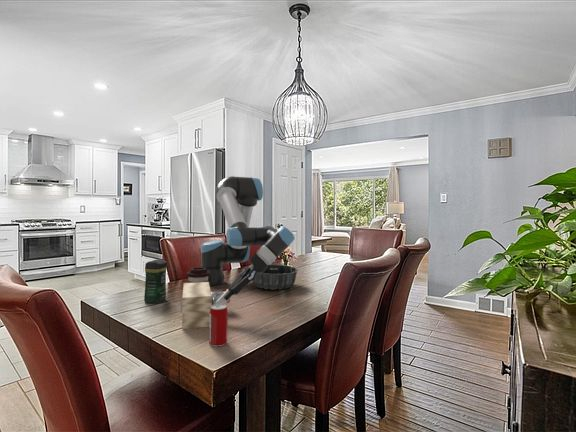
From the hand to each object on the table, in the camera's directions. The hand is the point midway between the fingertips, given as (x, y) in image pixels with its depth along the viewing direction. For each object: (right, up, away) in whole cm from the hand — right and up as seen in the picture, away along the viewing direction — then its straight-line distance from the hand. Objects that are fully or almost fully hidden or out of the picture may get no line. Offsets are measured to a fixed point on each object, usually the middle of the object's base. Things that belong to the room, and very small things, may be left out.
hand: (218, 304), depth 119 cm
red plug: (-4, -3, +10) cm, 11 cm away
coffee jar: (-33, -5, +23) cm, 41 cm away
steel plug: (-7, -3, -2) cm, 8 cm away
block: (-9, -6, +3) cm, 11 cm away
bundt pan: (+18, -5, +54) cm, 58 cm away
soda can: (+4, -7, -20) cm, 21 cm away
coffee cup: (-14, -5, +23) cm, 28 cm away
